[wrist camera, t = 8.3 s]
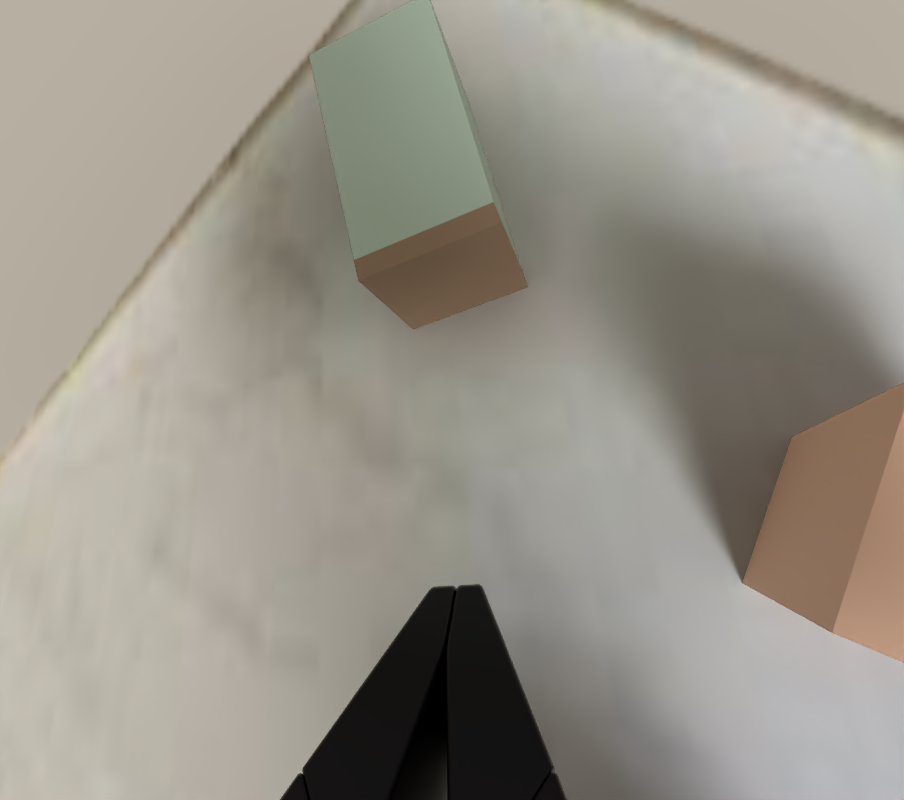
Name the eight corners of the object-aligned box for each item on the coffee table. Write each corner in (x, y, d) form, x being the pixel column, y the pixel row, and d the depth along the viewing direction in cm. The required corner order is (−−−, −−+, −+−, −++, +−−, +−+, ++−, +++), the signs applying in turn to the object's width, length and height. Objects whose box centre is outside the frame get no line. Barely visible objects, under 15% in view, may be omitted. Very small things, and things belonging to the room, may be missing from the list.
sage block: (500, 223, 17) (427, -8, 20) (358, 280, 18) (308, 54, 21) (527, 286, 21) (465, 93, 24) (413, 329, 23) (367, 139, 25)
